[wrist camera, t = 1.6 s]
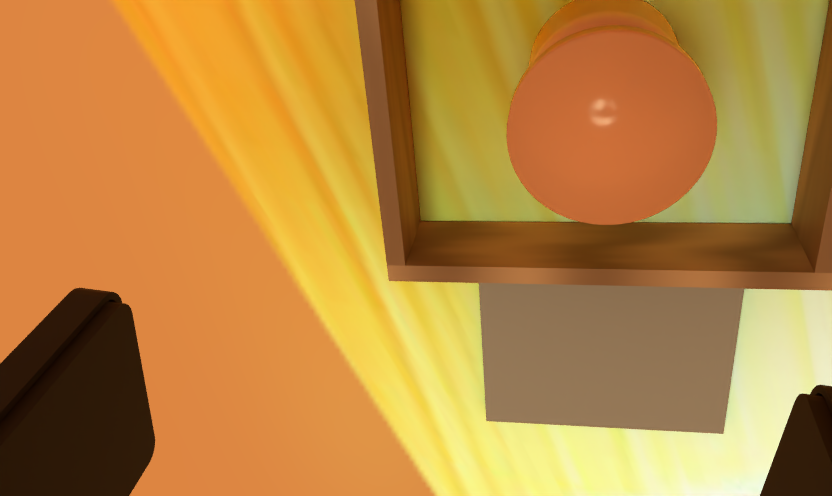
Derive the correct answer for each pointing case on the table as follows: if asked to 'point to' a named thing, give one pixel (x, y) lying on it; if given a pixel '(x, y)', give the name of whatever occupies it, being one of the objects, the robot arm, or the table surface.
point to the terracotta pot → (610, 114)
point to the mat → (609, 355)
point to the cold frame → (576, 241)
